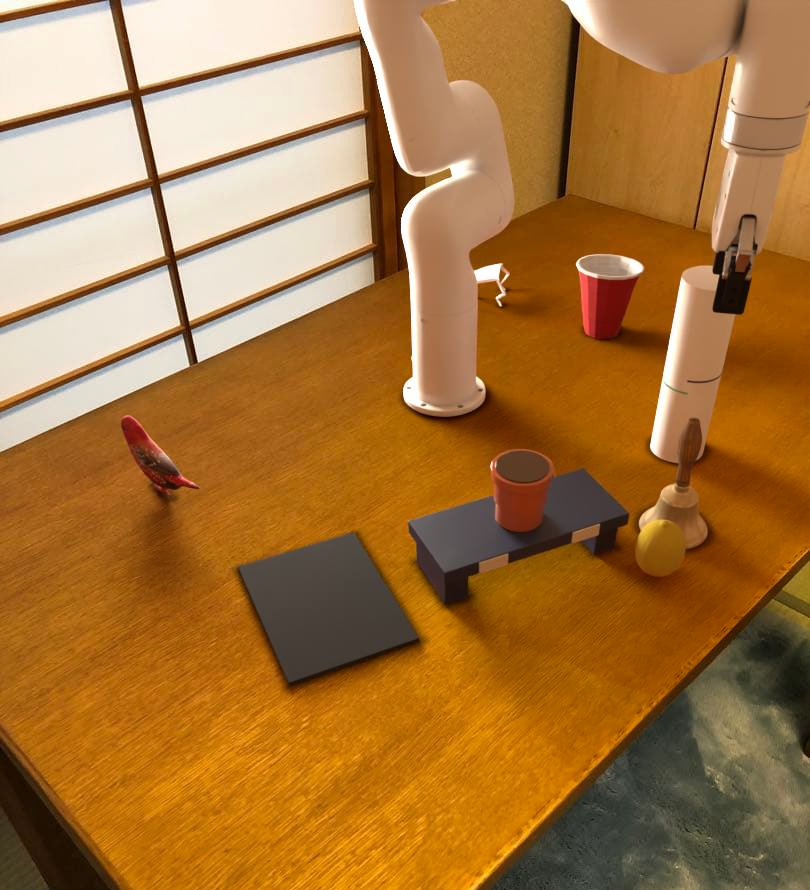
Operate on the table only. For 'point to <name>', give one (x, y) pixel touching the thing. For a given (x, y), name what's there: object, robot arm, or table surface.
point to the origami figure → (492, 277)
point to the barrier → (513, 533)
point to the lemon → (660, 548)
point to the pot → (520, 488)
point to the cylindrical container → (691, 362)
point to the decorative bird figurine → (152, 458)
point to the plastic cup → (606, 291)
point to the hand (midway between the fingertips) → (726, 292)
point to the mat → (325, 608)
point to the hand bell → (682, 491)
